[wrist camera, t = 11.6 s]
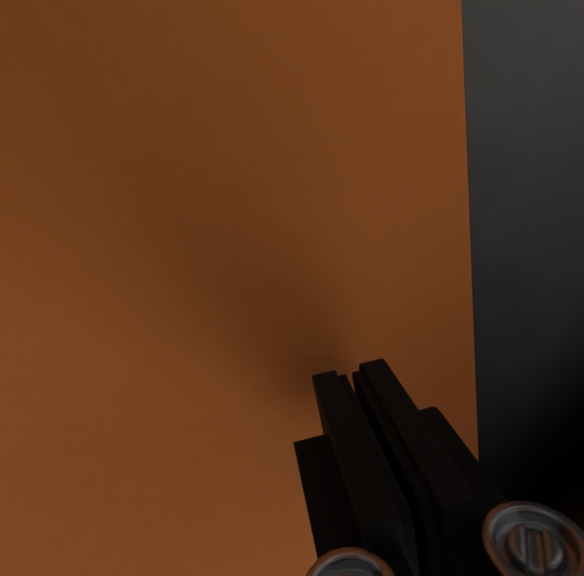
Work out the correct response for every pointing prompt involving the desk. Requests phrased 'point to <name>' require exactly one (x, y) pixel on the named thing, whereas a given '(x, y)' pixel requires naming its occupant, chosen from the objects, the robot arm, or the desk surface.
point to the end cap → (570, 496)
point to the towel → (216, 265)
